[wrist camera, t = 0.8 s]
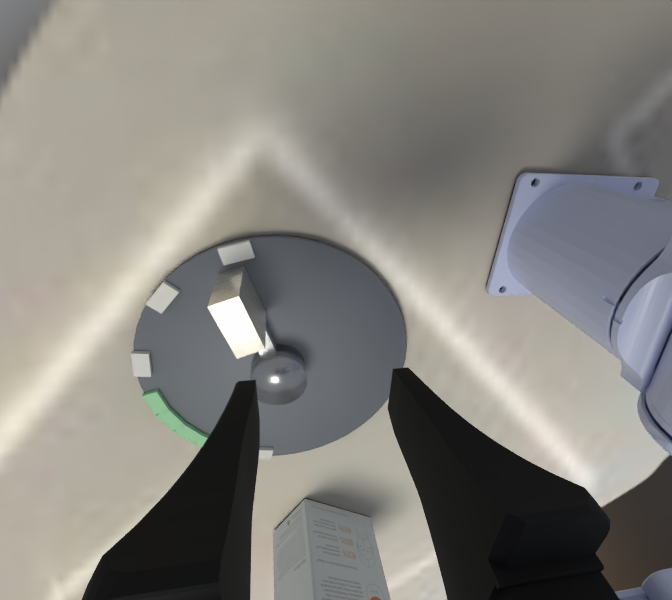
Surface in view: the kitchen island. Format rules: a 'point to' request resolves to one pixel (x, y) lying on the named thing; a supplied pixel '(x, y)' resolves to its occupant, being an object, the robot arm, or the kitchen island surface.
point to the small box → (327, 556)
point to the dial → (286, 329)
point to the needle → (256, 339)
